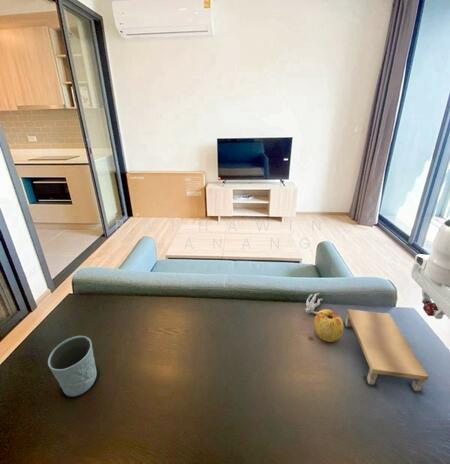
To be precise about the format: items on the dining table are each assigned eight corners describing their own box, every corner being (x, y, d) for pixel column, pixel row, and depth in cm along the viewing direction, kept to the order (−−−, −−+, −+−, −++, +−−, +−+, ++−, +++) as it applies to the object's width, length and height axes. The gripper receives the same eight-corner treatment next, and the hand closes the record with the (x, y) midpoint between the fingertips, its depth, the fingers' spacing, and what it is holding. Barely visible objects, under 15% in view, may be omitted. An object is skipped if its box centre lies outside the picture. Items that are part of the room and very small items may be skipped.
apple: (341, 331, 86) (346, 309, 83) (339, 352, 79) (344, 329, 75) (314, 322, 90) (318, 300, 87) (310, 341, 83) (314, 318, 79)
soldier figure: (327, 306, 99) (322, 318, 88) (316, 310, 101) (310, 322, 90) (316, 288, 101) (310, 297, 91) (306, 293, 103) (299, 302, 93)
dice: (441, 320, 72) (445, 309, 71) (424, 318, 73) (428, 307, 72) (434, 310, 76) (438, 300, 74) (417, 308, 76) (421, 298, 75)
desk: (384, 327, 88) (389, 313, 86) (421, 392, 68) (428, 376, 65) (344, 322, 90) (347, 309, 88) (368, 384, 70) (373, 369, 67)
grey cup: (106, 370, 73) (99, 340, 69) (78, 406, 64) (68, 375, 60) (80, 360, 76) (71, 331, 72) (49, 393, 67) (38, 363, 63)
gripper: (489, 299, 59) (469, 341, 64) (434, 253, 78) (422, 288, 83) (460, 296, 60) (442, 338, 65) (412, 252, 79) (402, 287, 84)
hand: (430, 310), depth 74 cm, fingers closed on dice, 4 cm apart
